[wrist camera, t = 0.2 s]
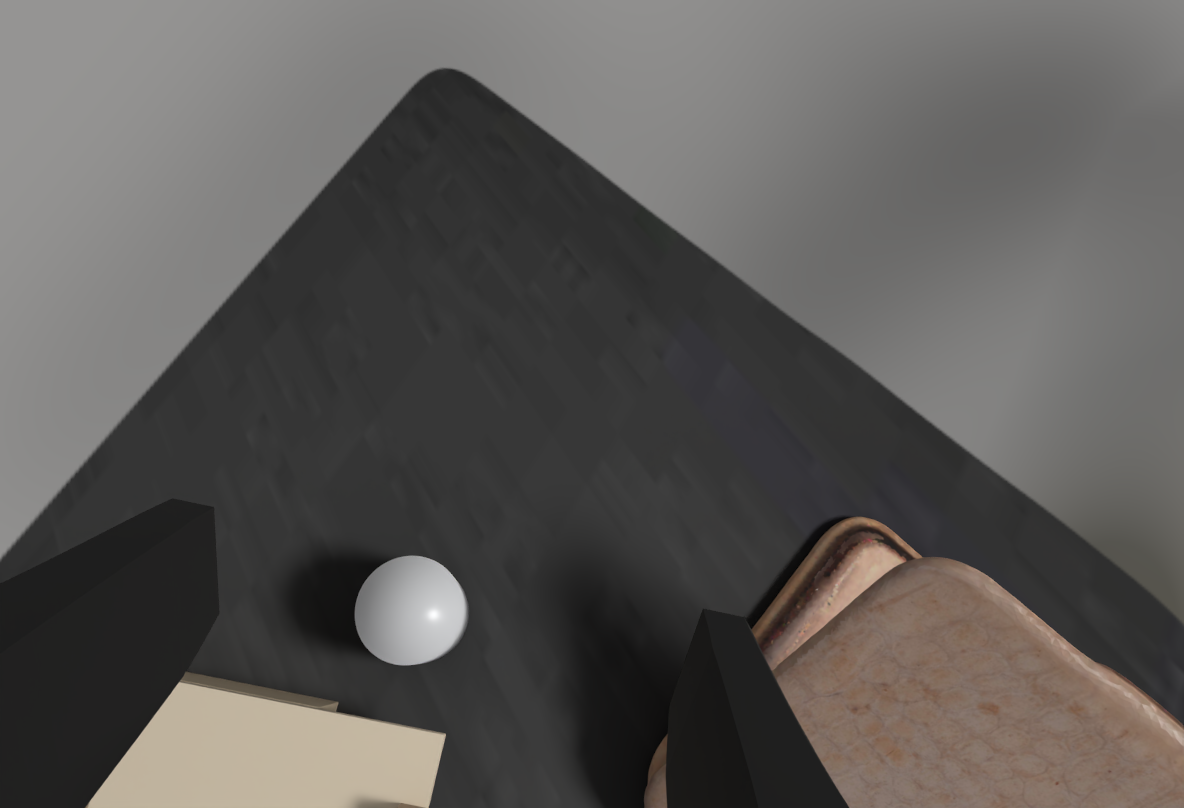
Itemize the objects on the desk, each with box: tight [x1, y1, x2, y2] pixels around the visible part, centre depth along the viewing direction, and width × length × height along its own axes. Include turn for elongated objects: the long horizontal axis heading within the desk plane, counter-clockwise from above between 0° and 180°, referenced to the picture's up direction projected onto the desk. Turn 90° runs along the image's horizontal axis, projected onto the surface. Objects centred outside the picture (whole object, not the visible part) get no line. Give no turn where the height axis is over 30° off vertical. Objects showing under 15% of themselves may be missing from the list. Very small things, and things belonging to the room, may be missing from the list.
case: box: [644, 517, 1184, 808], centre depth 32 cm, size 20×21×16 cm
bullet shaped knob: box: [355, 556, 469, 665], centre depth 38 cm, size 5×5×5 cm
